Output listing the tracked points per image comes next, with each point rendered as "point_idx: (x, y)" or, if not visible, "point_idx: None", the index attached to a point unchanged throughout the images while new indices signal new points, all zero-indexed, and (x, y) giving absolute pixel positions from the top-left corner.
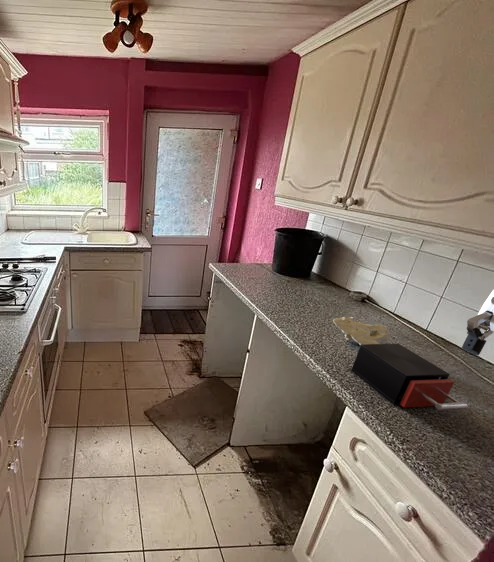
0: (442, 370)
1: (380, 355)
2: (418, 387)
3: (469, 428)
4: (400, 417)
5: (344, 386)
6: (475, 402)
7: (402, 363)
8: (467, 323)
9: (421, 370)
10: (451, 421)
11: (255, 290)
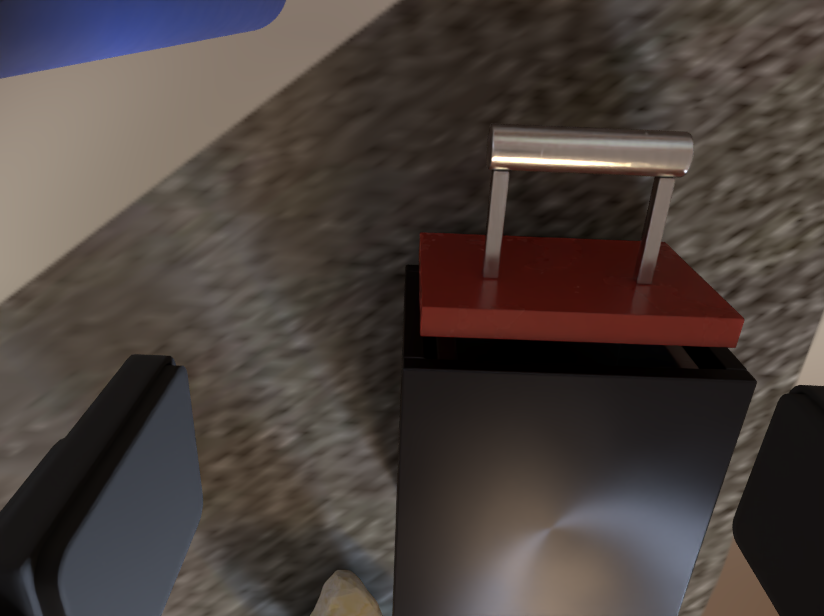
0: (413, 404)
1: (674, 559)
2: (687, 300)
3: (424, 76)
4: (730, 190)
5: (773, 408)
6: (160, 244)
7: (622, 485)
8: None
9: (575, 416)
10: (470, 134)
11: None
